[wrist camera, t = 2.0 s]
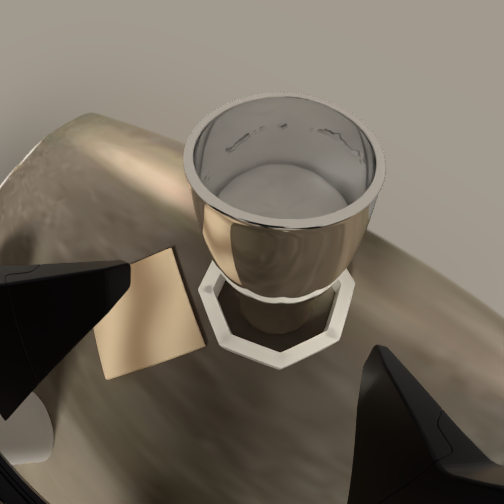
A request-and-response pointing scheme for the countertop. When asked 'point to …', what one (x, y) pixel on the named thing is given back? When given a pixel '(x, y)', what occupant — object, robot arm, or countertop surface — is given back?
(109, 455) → the countertop surface
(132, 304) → the coaster
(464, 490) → the robot arm
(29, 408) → the cup
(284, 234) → the beer glass
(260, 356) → the holder ring
